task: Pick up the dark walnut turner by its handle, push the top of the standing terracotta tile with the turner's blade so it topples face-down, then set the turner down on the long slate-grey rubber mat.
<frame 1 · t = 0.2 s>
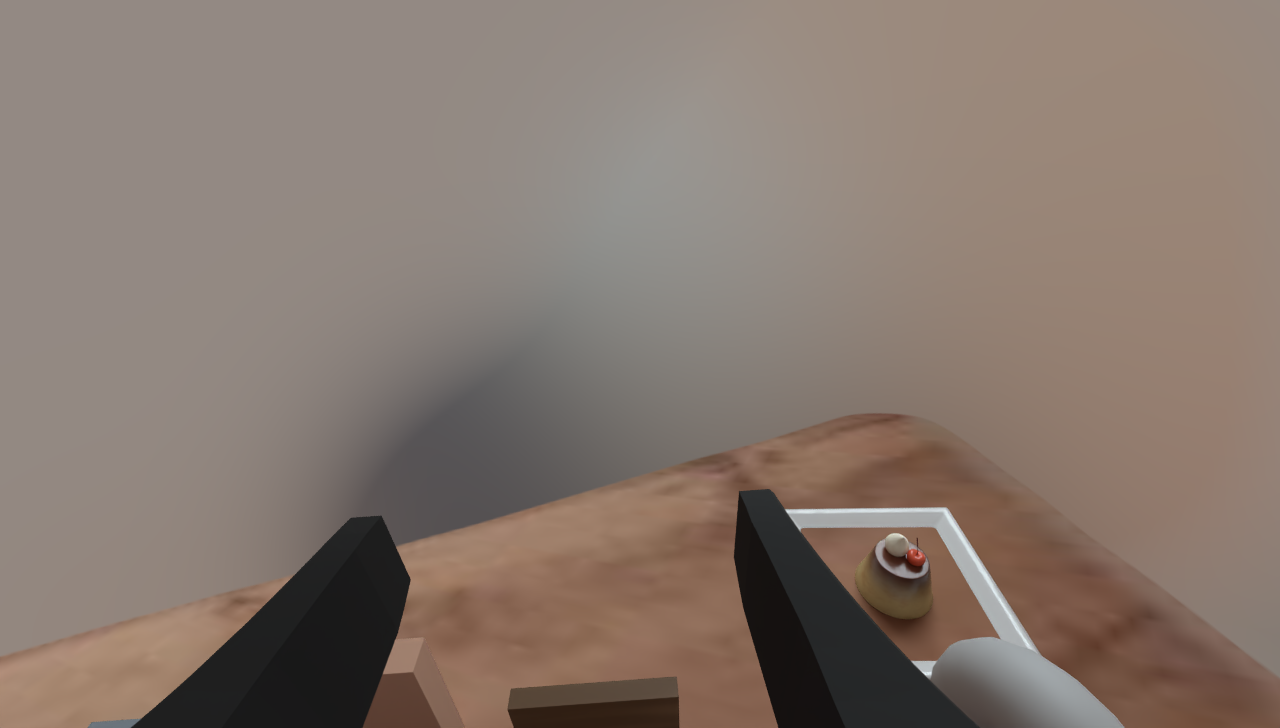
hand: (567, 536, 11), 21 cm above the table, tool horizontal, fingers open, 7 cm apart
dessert: (890, 593, 33), on the table
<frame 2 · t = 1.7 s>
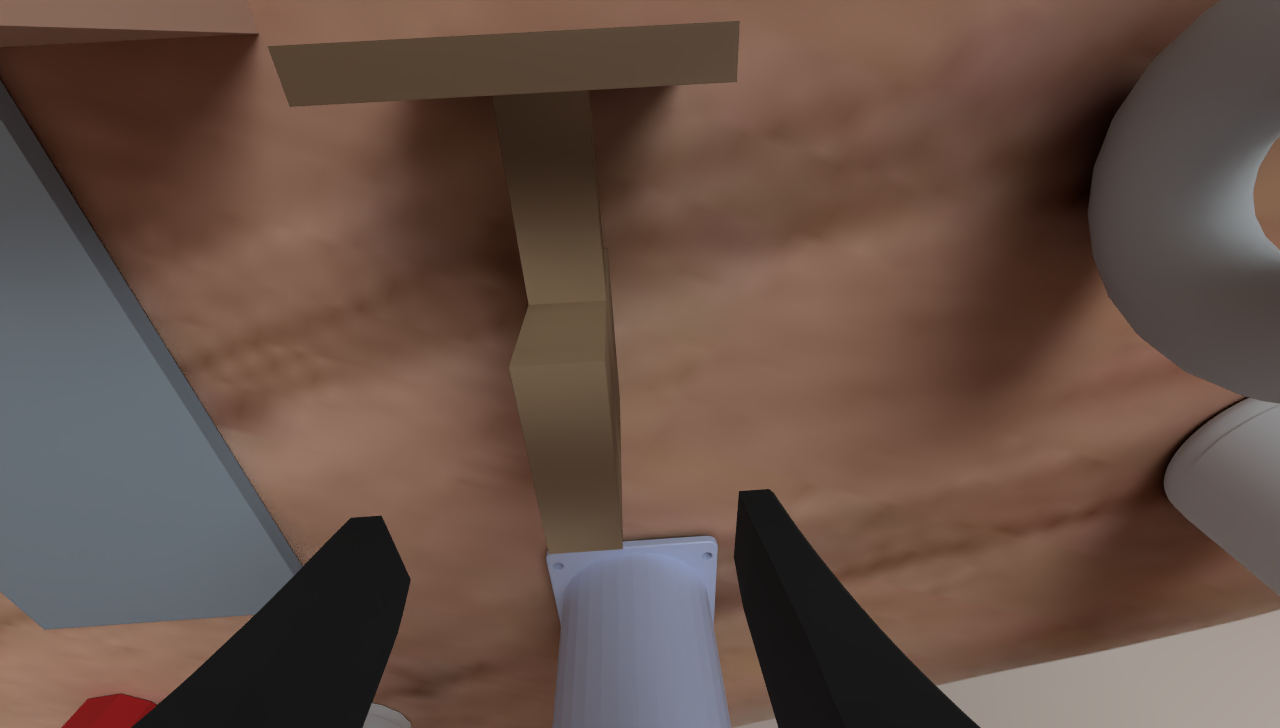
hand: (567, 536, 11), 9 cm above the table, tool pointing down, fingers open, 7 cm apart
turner: (586, 331, 18), on the table
tile: (104, 5, 13), on the table
mat: (4, 393, 18), on the table
donut: (1113, 153, 16), on the table
foam cup: (361, 722, 32), on the table
french fries: (151, 721, 31), on the table
pill bottle: (1247, 444, 23), on the table
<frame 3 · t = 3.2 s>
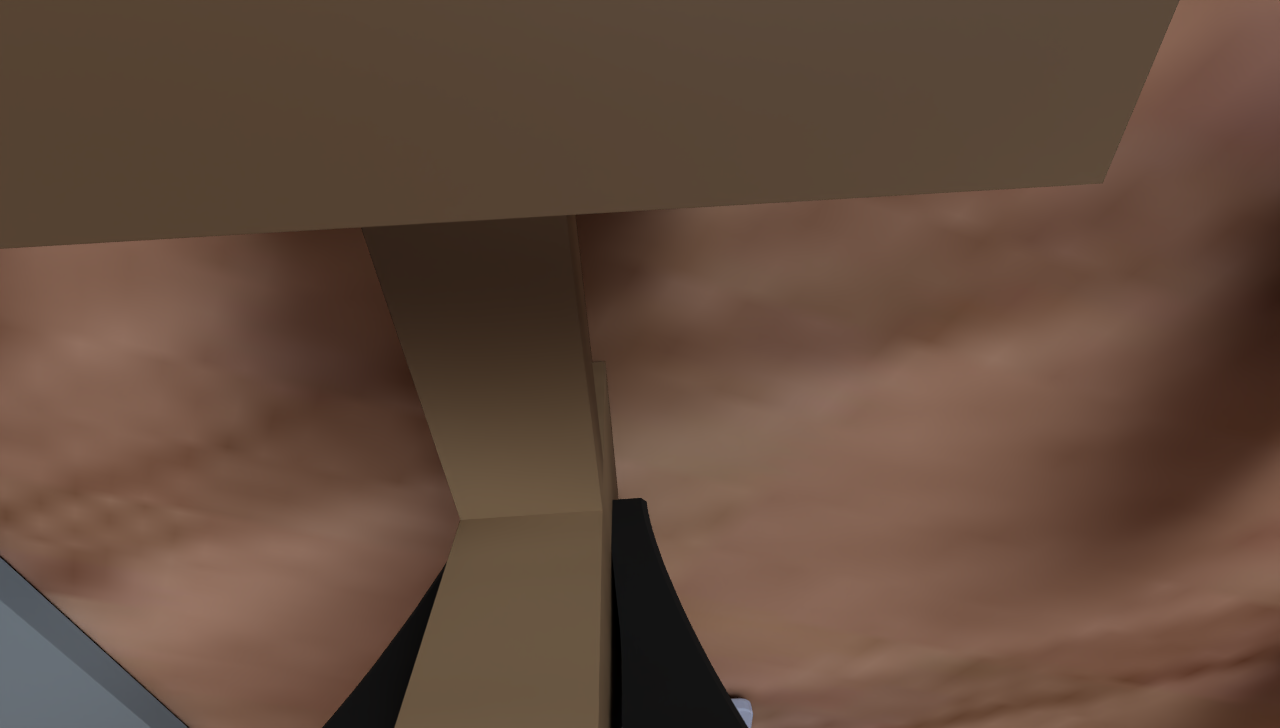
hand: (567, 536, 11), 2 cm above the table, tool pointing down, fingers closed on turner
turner: (573, 470, 12), on the table, touching gripper
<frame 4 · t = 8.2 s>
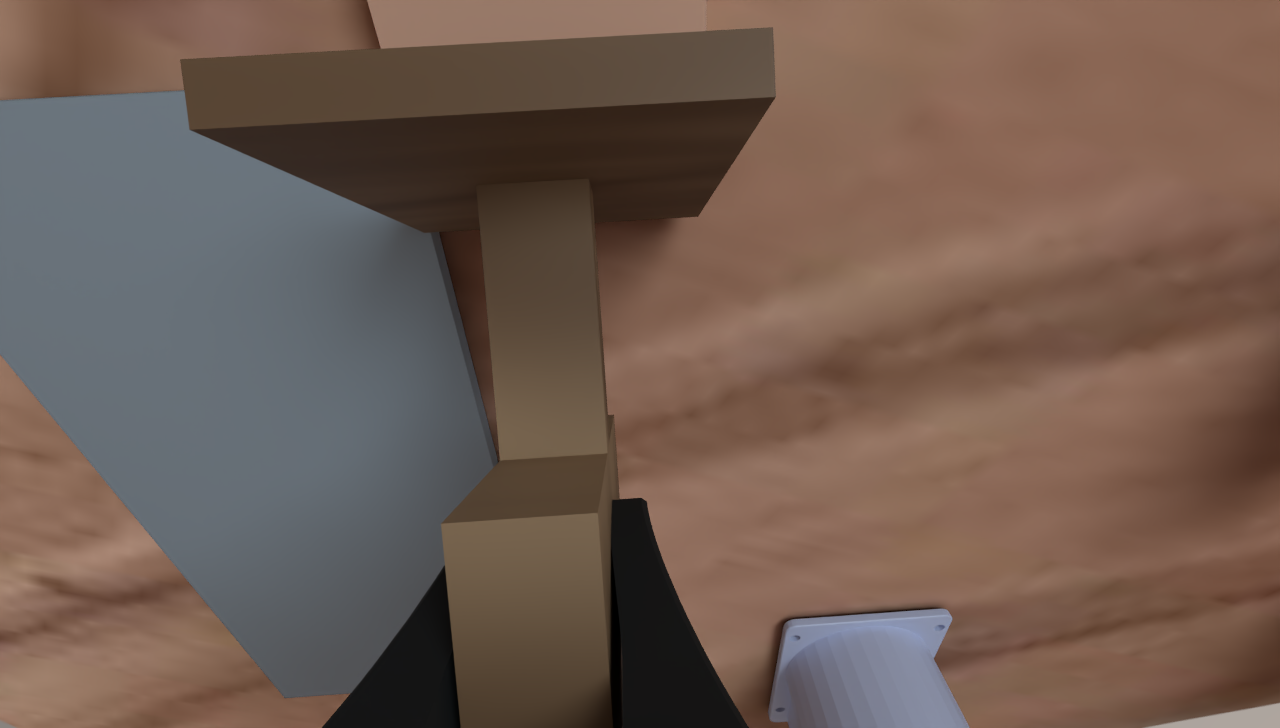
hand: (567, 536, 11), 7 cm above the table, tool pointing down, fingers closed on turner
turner: (584, 527, 14), point 5 cm above the table, tilted 27°, touching gripper, mat
tile: (558, 119, 13), on the table, tilted 90°
mat: (325, 491, 19), on the table
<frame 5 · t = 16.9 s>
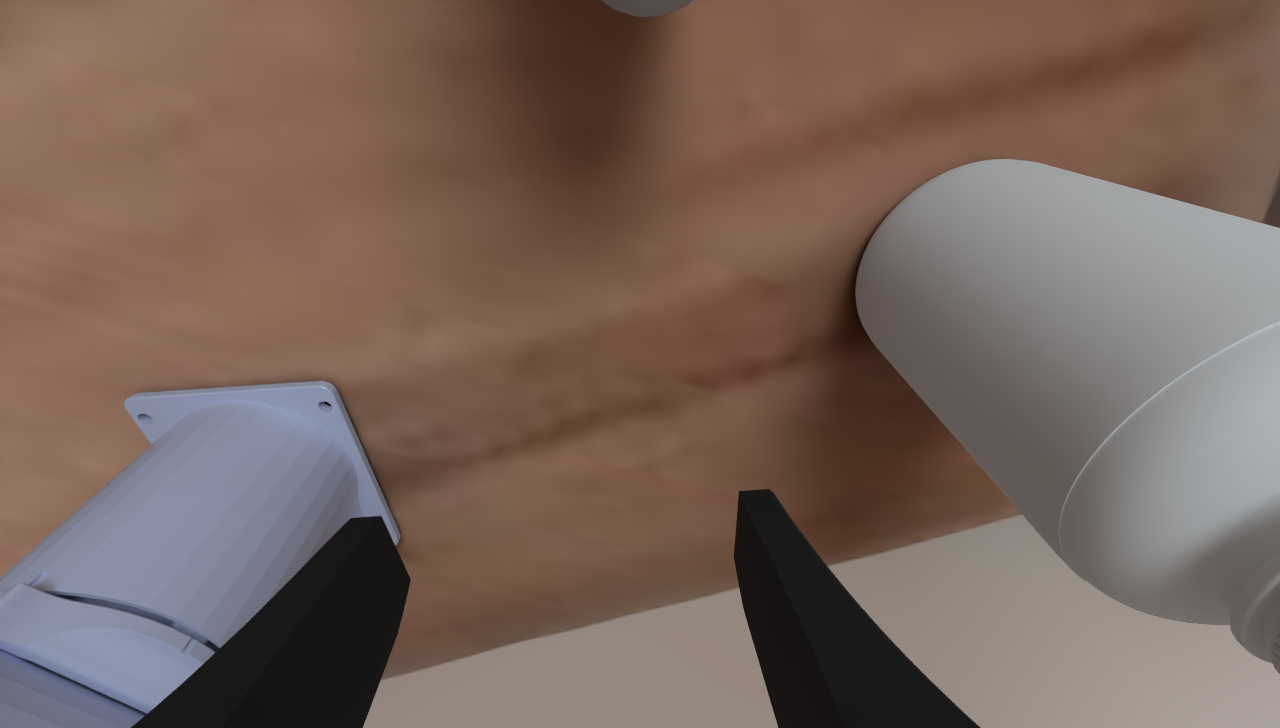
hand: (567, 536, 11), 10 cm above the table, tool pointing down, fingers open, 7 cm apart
pill bottle: (950, 264, 19), on the table
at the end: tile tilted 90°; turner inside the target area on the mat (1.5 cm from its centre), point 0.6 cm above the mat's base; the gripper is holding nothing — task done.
